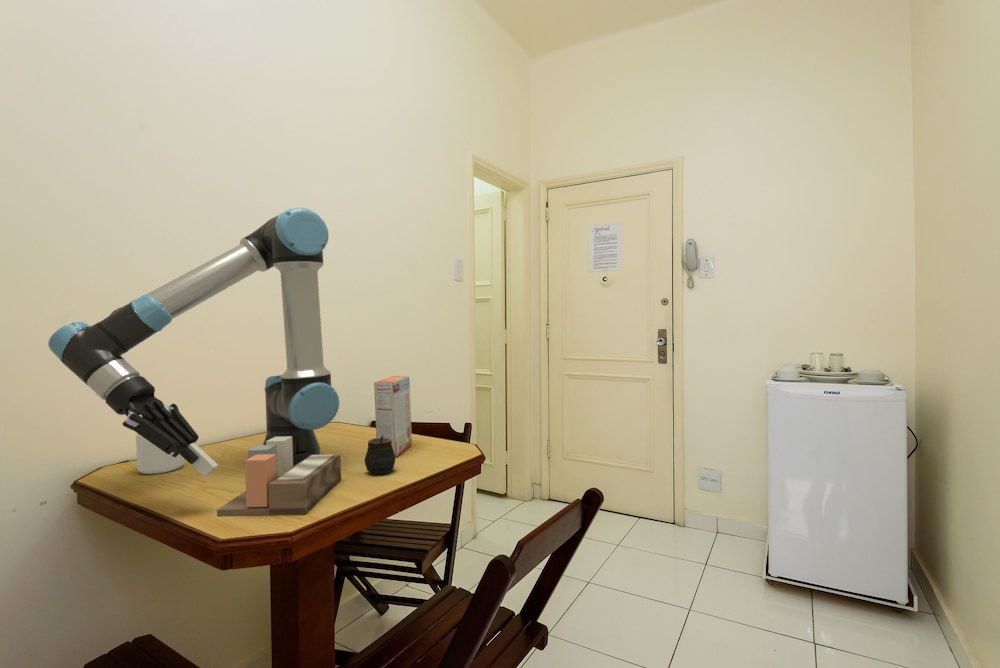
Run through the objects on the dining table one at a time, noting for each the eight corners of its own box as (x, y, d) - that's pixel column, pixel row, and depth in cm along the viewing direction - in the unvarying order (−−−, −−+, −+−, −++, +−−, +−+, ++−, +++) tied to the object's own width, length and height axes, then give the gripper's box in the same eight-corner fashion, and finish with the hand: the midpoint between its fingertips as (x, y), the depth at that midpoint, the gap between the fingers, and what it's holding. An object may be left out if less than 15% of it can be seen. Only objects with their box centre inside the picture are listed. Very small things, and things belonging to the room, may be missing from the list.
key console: (268, 481, 117) (267, 454, 117) (341, 480, 117) (340, 452, 116) (217, 515, 96) (215, 482, 96) (305, 514, 96) (304, 481, 95)
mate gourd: (389, 466, 127) (388, 427, 127) (400, 473, 121) (400, 432, 121) (361, 471, 123) (360, 431, 123) (371, 479, 117) (371, 436, 117)
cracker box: (393, 445, 149) (391, 375, 149) (412, 445, 149) (410, 375, 148) (375, 458, 135) (373, 381, 135) (396, 458, 135) (394, 381, 134)
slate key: (259, 486, 108) (258, 445, 108) (277, 486, 108) (276, 444, 108) (249, 493, 104) (247, 450, 104) (268, 492, 104) (267, 449, 104)
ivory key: (276, 475, 116) (275, 436, 116) (293, 474, 116) (292, 436, 116) (267, 481, 112) (266, 441, 112) (285, 480, 112) (283, 440, 112)
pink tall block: (257, 499, 100) (256, 454, 100) (277, 498, 100) (276, 454, 100) (246, 507, 96) (245, 460, 96) (267, 506, 96) (265, 460, 96)
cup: (192, 463, 133) (191, 426, 133) (169, 475, 124) (167, 434, 123) (154, 464, 133) (153, 427, 133) (127, 476, 123) (126, 435, 123)
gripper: (134, 397, 104) (217, 474, 105) (82, 407, 91) (177, 496, 92) (159, 371, 104) (241, 449, 105) (110, 378, 91) (205, 466, 92)
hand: (211, 471), depth 98 cm, fingers closed
